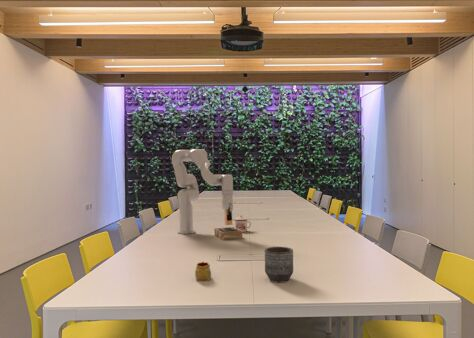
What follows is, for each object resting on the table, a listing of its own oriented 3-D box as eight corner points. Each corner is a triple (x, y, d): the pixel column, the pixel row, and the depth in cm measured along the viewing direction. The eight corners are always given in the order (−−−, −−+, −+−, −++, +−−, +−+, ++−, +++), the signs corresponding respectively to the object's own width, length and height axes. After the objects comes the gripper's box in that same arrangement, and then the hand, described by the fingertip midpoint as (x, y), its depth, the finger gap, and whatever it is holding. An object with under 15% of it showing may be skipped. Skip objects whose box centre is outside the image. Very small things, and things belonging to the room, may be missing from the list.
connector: (224, 224, 266) (224, 207, 266) (230, 223, 268) (229, 207, 268) (226, 225, 263) (226, 208, 263) (232, 224, 264) (231, 208, 264)
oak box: (214, 235, 271) (214, 227, 271) (233, 234, 276) (233, 226, 276) (222, 240, 255) (222, 231, 255) (242, 238, 260) (242, 230, 260)
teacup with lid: (234, 232, 283) (234, 216, 282) (235, 230, 292) (235, 214, 291) (251, 232, 281) (250, 216, 281) (251, 230, 291) (251, 214, 290)
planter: (276, 273, 178) (276, 245, 177) (299, 278, 169) (298, 249, 169) (259, 279, 169) (258, 250, 169) (281, 285, 160) (281, 254, 160)
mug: (209, 281, 168) (209, 266, 168) (193, 281, 168) (193, 265, 168) (213, 273, 180) (213, 259, 180) (198, 273, 180) (198, 258, 180)
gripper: (218, 192, 272) (219, 219, 272) (226, 193, 256) (227, 222, 256) (228, 191, 274) (229, 218, 274) (237, 193, 258) (237, 221, 259)
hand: (228, 219), depth 265 cm, fingers closed on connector, 4 cm apart
